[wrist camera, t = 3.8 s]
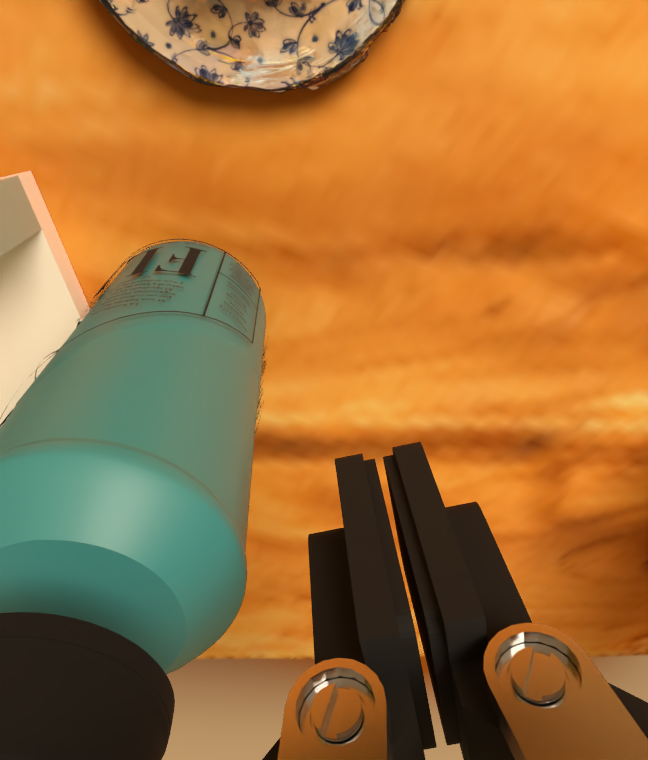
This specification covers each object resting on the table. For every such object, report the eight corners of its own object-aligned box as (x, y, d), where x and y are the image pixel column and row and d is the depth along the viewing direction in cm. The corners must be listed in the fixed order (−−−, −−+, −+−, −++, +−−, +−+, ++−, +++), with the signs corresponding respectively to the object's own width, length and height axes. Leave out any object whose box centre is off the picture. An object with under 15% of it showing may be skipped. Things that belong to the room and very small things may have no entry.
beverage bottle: (227, 198, 23) (35, 613, 6) (296, 337, 26) (315, 891, 9) (86, 263, 24) (-462, 798, 6) (169, 390, 27) (-52, 989, 9)
